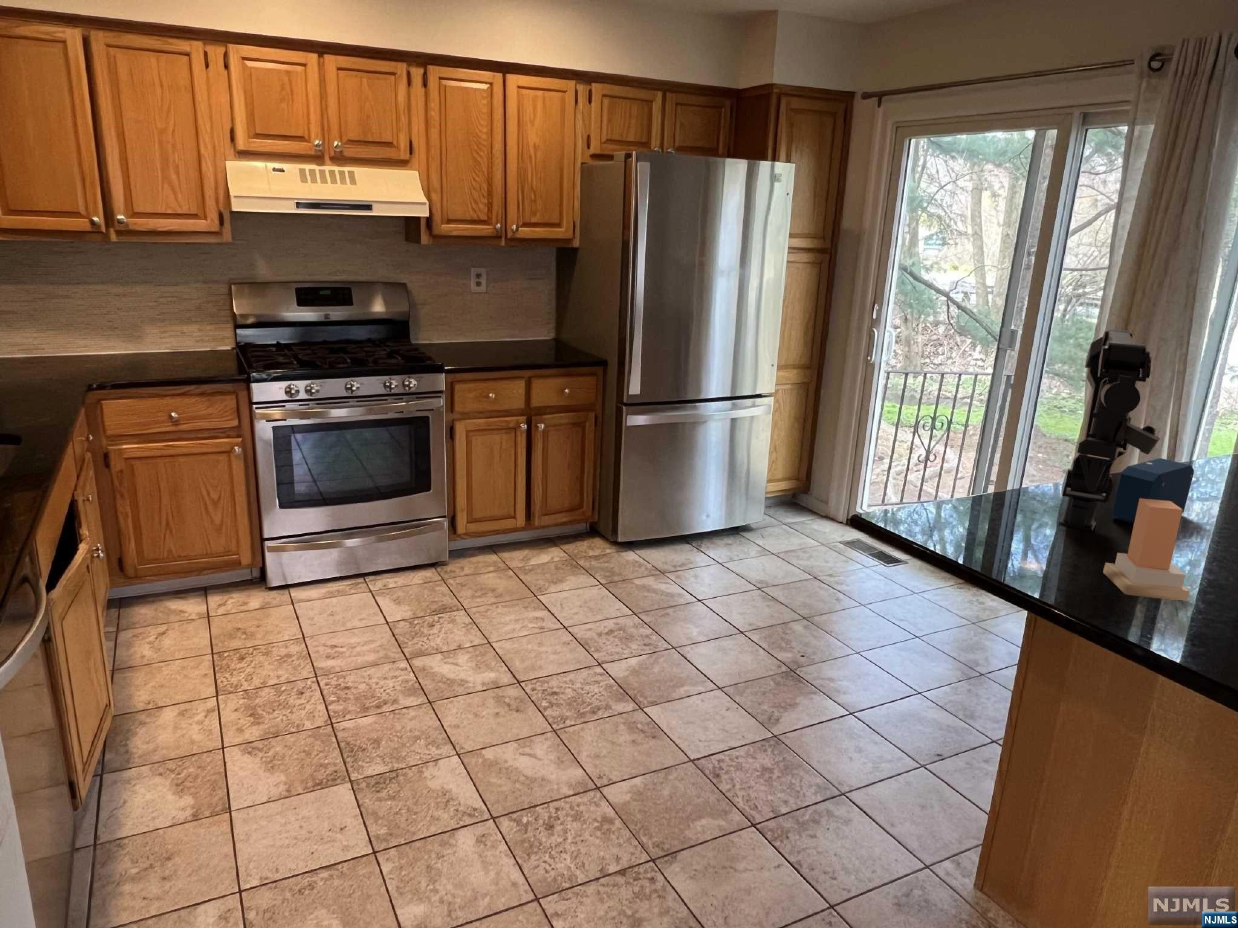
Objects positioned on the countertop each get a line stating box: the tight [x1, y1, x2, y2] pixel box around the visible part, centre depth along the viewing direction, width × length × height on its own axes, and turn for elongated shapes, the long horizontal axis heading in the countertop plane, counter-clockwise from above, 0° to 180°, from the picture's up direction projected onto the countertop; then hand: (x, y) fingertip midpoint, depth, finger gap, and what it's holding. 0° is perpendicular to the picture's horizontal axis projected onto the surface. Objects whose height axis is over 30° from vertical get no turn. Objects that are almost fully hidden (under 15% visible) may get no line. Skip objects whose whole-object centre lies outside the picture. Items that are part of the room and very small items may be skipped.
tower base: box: [1102, 562, 1191, 602], centre depth 151 cm, size 10×10×2 cm
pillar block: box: [1127, 498, 1183, 570], centre depth 148 cm, size 5×5×11 cm
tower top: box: [1114, 552, 1186, 588], centre depth 150 cm, size 8×8×2 cm
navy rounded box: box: [1111, 429, 1195, 525], centre depth 188 cm, size 21×9×20 cm, turn 126°
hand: (1095, 487), depth 164 cm, fingers open, 9 cm apart
